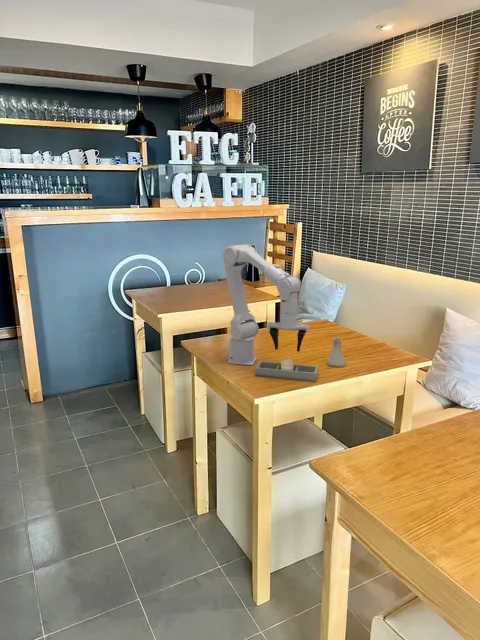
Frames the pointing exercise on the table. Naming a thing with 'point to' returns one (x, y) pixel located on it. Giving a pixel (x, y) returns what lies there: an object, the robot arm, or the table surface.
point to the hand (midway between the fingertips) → (287, 349)
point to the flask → (336, 355)
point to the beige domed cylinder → (287, 364)
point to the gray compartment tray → (287, 371)
